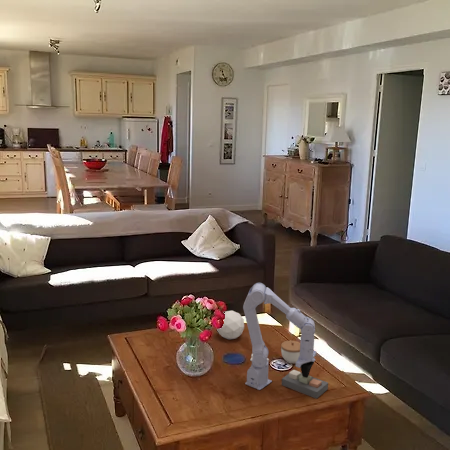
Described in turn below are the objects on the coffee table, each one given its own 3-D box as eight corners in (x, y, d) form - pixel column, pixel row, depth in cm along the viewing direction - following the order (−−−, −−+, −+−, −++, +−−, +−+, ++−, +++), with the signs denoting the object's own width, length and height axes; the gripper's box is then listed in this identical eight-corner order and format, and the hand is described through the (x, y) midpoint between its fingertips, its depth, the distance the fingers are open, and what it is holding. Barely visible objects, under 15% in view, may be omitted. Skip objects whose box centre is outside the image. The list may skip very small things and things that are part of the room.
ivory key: (296, 381, 219) (296, 375, 218) (288, 378, 221) (289, 372, 221) (300, 377, 222) (301, 372, 221) (293, 375, 224) (293, 369, 224)
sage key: (306, 385, 216) (306, 379, 215) (298, 382, 218) (299, 376, 218) (310, 381, 219) (311, 376, 218) (303, 378, 221) (303, 373, 220)
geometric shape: (231, 349, 264) (226, 335, 253) (213, 331, 273) (208, 316, 262) (251, 332, 268) (248, 317, 257) (233, 315, 277) (229, 300, 266)
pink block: (316, 390, 213) (317, 385, 212) (308, 387, 215) (309, 382, 215) (321, 387, 216) (321, 381, 215) (313, 384, 218) (313, 378, 218)
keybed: (316, 398, 210) (317, 392, 209) (281, 384, 220) (281, 378, 220) (327, 389, 218) (328, 382, 217) (293, 376, 228) (293, 370, 227)
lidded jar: (295, 368, 235) (296, 349, 233) (276, 361, 242) (277, 342, 240) (307, 359, 244) (308, 341, 242) (287, 353, 250) (288, 335, 248)
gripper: (306, 356, 207) (305, 386, 210) (323, 344, 218) (321, 373, 221) (291, 351, 211) (290, 380, 214) (308, 339, 222) (307, 368, 225)
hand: (305, 376), depth 218 cm, fingers closed, pressing on sage key
